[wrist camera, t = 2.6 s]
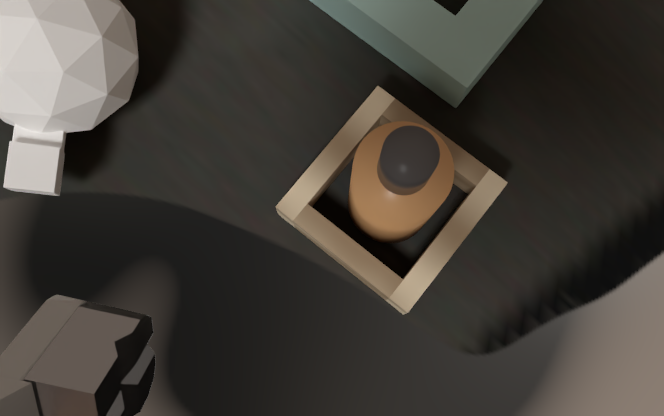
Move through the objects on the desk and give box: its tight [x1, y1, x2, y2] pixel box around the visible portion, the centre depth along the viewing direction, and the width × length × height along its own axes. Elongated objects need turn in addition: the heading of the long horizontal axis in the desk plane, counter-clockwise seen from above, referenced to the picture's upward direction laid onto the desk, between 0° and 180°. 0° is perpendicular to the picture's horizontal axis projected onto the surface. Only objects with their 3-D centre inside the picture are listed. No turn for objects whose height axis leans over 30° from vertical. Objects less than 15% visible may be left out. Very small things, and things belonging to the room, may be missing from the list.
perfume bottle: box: [0, 0, 138, 196], centre depth 32 cm, size 9×9×12 cm
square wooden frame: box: [276, 86, 508, 314], centre depth 33 cm, size 9×9×2 cm
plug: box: [348, 121, 454, 243], centre depth 30 cm, size 5×5×10 cm
